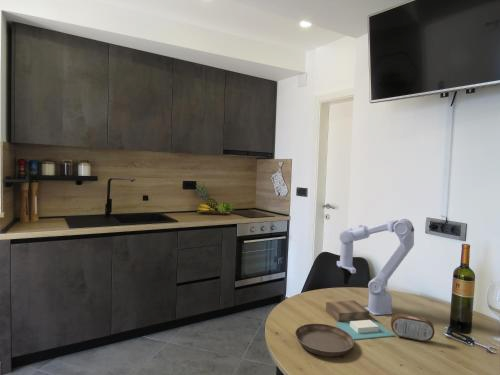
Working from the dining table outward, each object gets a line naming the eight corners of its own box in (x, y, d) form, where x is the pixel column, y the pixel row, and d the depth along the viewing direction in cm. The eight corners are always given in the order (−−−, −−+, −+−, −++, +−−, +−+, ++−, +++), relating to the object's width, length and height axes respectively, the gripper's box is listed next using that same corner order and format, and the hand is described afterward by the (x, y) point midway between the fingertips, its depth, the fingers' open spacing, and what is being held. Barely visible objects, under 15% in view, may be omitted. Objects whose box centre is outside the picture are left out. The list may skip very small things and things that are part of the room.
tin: (432, 340, 126) (434, 319, 126) (434, 344, 123) (436, 322, 123) (389, 332, 131) (391, 311, 131) (390, 335, 128) (392, 314, 128)
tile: (378, 326, 132) (378, 331, 132) (369, 319, 137) (369, 324, 137) (358, 328, 129) (357, 333, 130) (350, 321, 135) (349, 326, 135)
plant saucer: (345, 332, 131) (345, 324, 131) (361, 362, 111) (361, 352, 110) (292, 330, 132) (292, 321, 132) (298, 359, 111) (298, 349, 111)
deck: (353, 309, 154) (354, 300, 154) (368, 320, 142) (369, 311, 142) (325, 311, 151) (326, 302, 150) (338, 322, 139) (339, 313, 139)
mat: (373, 320, 142) (373, 319, 142) (394, 336, 129) (394, 335, 129) (334, 323, 138) (334, 322, 138) (352, 340, 125) (352, 339, 125)
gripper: (331, 252, 166) (330, 279, 166) (346, 259, 151) (345, 289, 152) (344, 251, 167) (343, 278, 168) (360, 259, 153) (359, 288, 154)
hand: (345, 283), depth 160 cm, fingers closed
